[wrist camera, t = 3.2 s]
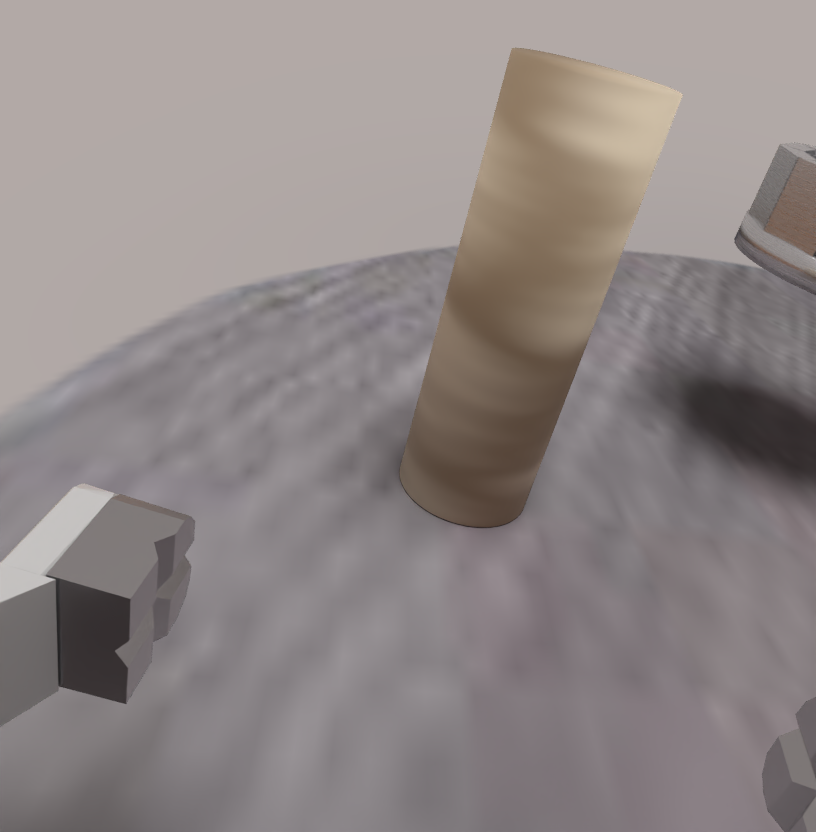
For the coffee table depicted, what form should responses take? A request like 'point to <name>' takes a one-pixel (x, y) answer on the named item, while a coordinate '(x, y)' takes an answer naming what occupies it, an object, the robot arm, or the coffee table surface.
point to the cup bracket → (785, 218)
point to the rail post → (530, 278)
